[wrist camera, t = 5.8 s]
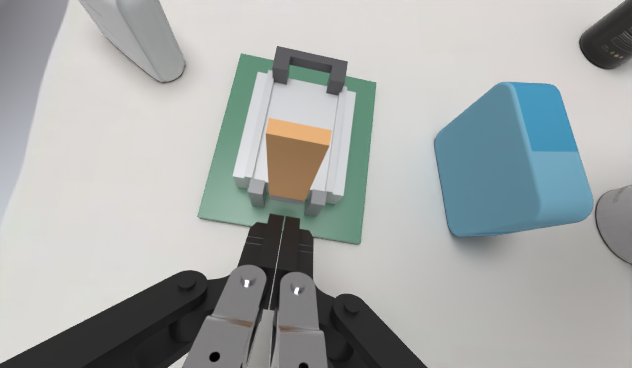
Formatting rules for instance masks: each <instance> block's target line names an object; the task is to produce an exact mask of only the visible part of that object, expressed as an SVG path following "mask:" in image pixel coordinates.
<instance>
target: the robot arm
mask: <svg viewBox="0 0 632 368" xmlns="http://www.w3.org/2000/svg"><path fill="white" fill-rule="evenodd" d="M596 216H597V223H598V227H599V230H600V233H601V235H602V237H603V239H604V240H605V242H606V244H607V245H608V246H609V247H610V249H611V250H612V251H613V252H614V253H615V254H617V255H618V256H619V257H620V258H622V259H623V260H625V261H626V262H629V263H631V264H632V185H629V186H625V187H622V188H619V189H615V190H611V191H608V192H607V193H605V194H604V195H603V196H602V197H601V198H600V201H599V203H598V206H597V210H596ZM283 221H284V216H283V215H277V214H271V213H270V214H269V218H268V222H267V223H261V222H256V223H255V224H254V225H253V226H252V227H251V228H250V230H249V233H248V237H247V239H246V243H245V245H244V248H243V251H242V254H241V257H240V260H239V263H238V266H237V268H236V269H234V270H233V271H232V273H231V274H230V275H228V276H226V277H224V278H220V279H212V280H207V278H206V277H205V276H204V275H203V274H202V273H200V272H198V271H193V270H188V271H182V272H179V273H177V274H175V275H173V276H171V277H169V278H167V279H165V280H163V281H161V282H159V283H157V284H155V285H153V286H151V287H149V288H147V289H145V290H143V291H142V292H140V293H138V294H136V295H134V296H132V297H130V298H128V299H126V300H124V301H122V302H120V303H118V304H116V305H114V306H112V307H110V308H108V309H106V310H104V311H102V312H100V313H99V314H97V315H95V316H93V317H91V318H89V319H87V320H85V321H83V322H81V323H79V324H77V325H75V326H73V327H71V328H69V329H67V330H65V331H63V332H61V333H59V334H57V335H56V336H54V337H52V338H50V339H48V340H46V341H44V342H42V343H40V344H38V345H36V346H34V347H32V348H30V349H28V350H26V351H24V352H22V353H20V354H18V355H16V356H15V357H13V358H11V359H9V360H7V361H5V362H3V363H1V364H0V368H168V367H169V366H170V365H172V364H173V363H174V362H176V361H177V360H178V359H180V358H181V357H182V356H184V355H185V354H186V353H188V352H189V351H190V352H189V354H188V356H187V358H186V360H185V362H184V365H183V367H182V368H247V366H248V362H249V359H250V355H251V352H252V348H253V344H254V341H255V337H256V334H257V330H258V326H259V323H260V321H261V318H262V313H263V309H267V310H268V307H269V301H270V296H271V290H272V285H273V279H274V274H275V268H276V262H277V257H278V262H277V268H276V274H275V280H274V286H273V292H272V298H271V304H270V310H274V317H273V323H272V328H271V341H270V356H269V368H427V367H426V366H425V365H424V364H423V363H422V361H421V360H420V359H419V358H418V357H417V356H416V355H415V354H414V353H413V352H412V351H411V350H410V349H409V348H408V347H407V346H406V345H405V344H404V343H403V342H402V341H401V340H400V339H399V338H398V337H397V335H396V334H395V333H394V332H393V331H392V330H391V329H390V328H389V327H388V326H387V325H386V324H385V323H384V322H383V321H382V320H381V319H380V318H379V317H378V316H377V315H376V314H375V313H374V312H373V311H372V309H371V308H370V307H369V306H368V305H367V304H366V303H365V302H364V301H363V300H362V299H360V298H359V297H357V296H355V295H352V294H341V295H339V296H337V297H336V298H334V297H331V296H329V295H327V294H325V293H323V292H322V291H320V290H319V289H318V288H317V287H316V285H315V283H314V281H313V236H312V234H311V232H310V231H309V230H304V229H300V218H295V217H289V216H286V217H285V223H284V228H283V234H282V239H281V233H282V227H283ZM280 239H281V245H280ZM279 245H280V250H279ZM278 251H279V256H278Z"/></svg>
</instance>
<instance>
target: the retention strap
mask: <svg viewBox="0 0 632 368" xmlns="http://www.w3.org/2000/svg"><path fill="white" fill-rule="evenodd" d="M331 133H332V130H328V129H323V128H318V127H313V126H308V125H303V124H298V123H292V122H287V121H282V120H277V119H272V118H269V120H268V124H267V129H266V150H267V168H268V185H269V196H270V199H275V200H281V201H287V202H292V203H298V204H303V202H304V201H305V199H306V197H307V194H308V192H309V190H310V188H311V186H312V183H313V181H314V179H315V177H316V175H317V172H318V170H319V168H320V166H321V164H322V161H323V159H324V157H325V155H326V153H327V150H328V148H329V146H330V140H331Z"/></svg>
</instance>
